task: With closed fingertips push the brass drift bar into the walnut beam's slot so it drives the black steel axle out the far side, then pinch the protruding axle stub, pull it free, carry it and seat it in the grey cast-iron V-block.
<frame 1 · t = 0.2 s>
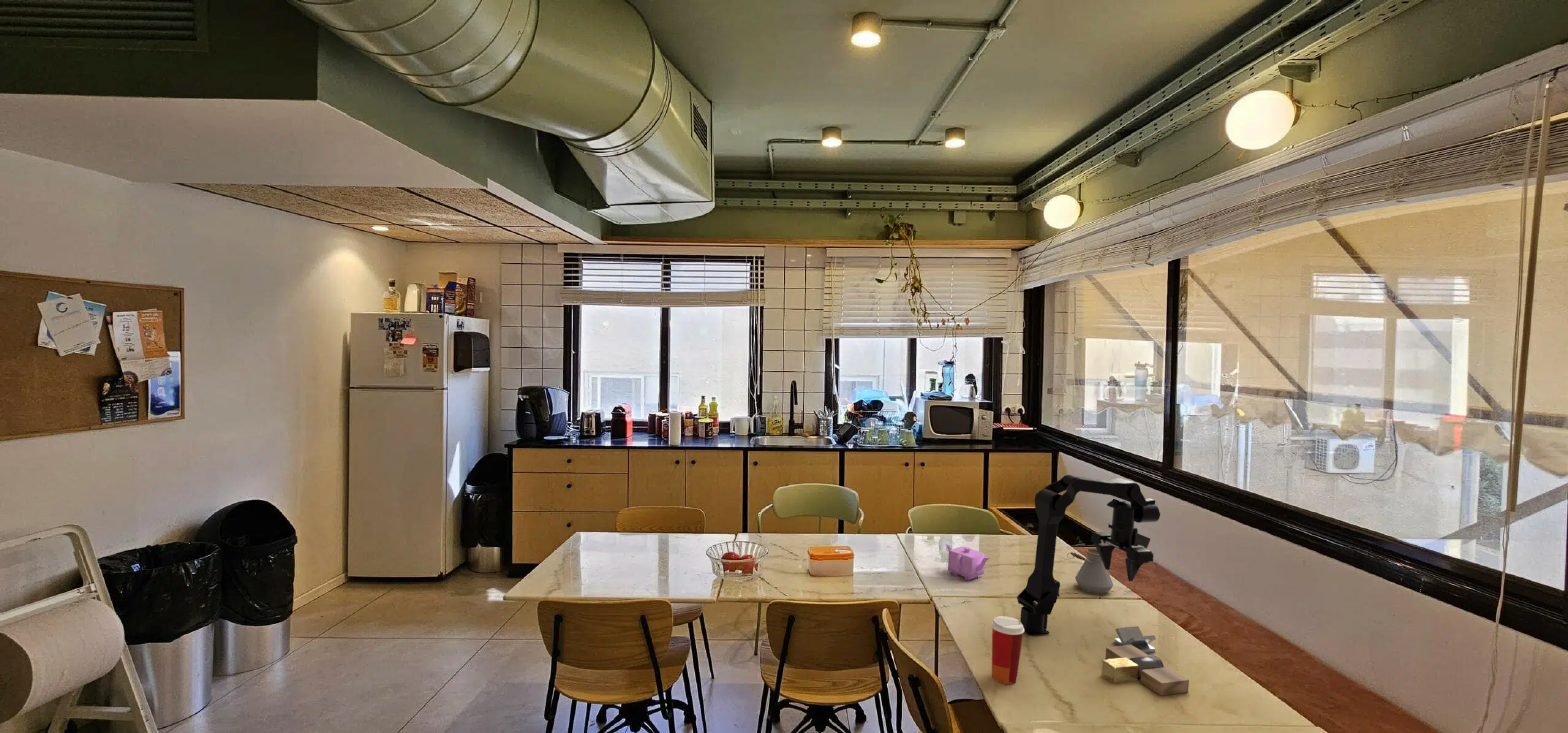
hand: (1118, 575, 197), 15 cm above the table, tool pointing down, fingers open, 9 cm apart
beam: (1144, 674, 168), on the table
coffee pot: (1085, 593, 222), on the table
drift: (1119, 678, 166), on the table
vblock: (1134, 647, 183), on the table
axle: (1144, 675, 168), on the table
paper cup: (1003, 679, 163), on the table
teapot: (966, 575, 232), on the table
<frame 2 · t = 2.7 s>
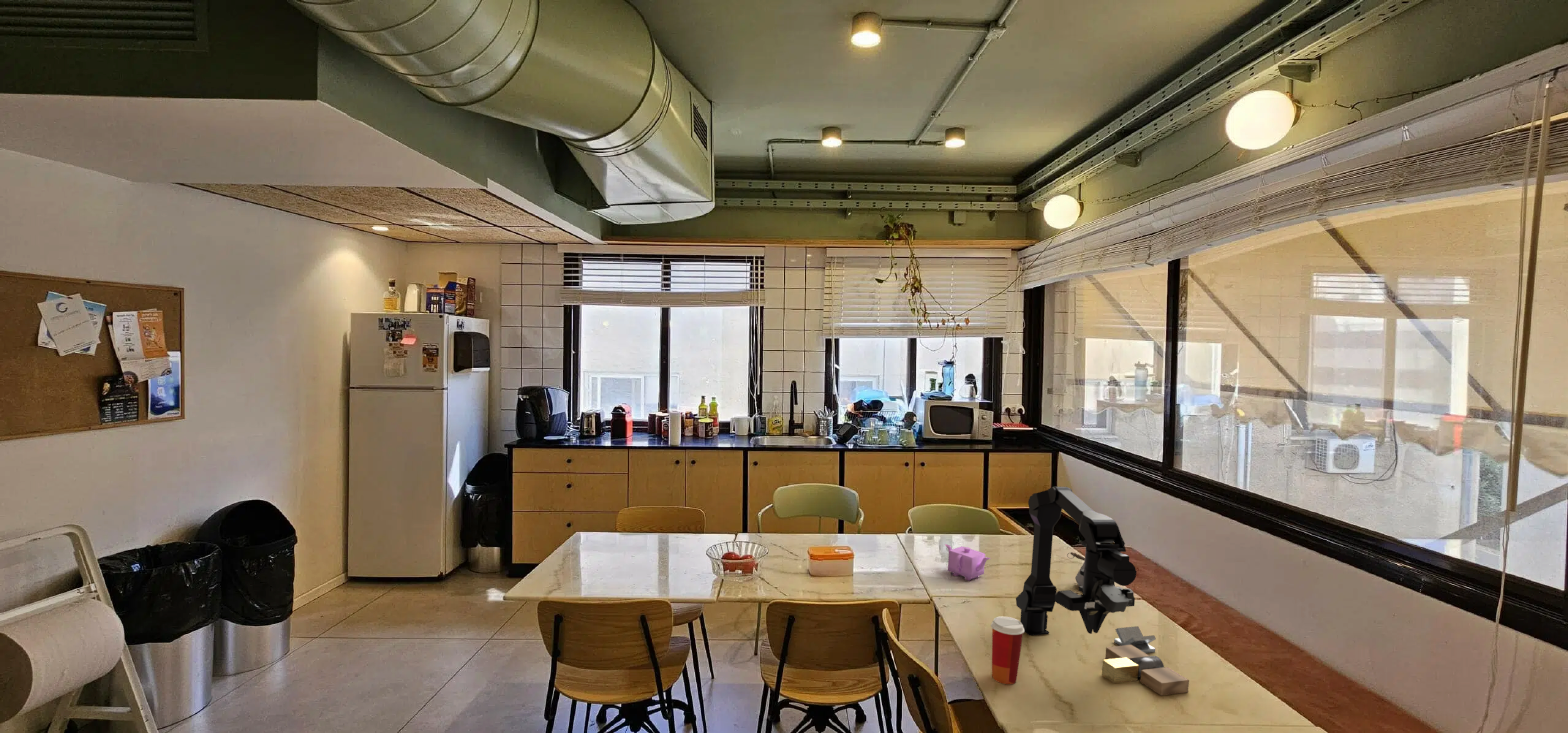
hand: (1092, 632, 163), 12 cm above the table, tool pointing down, fingers closed
nothing on the table moved.
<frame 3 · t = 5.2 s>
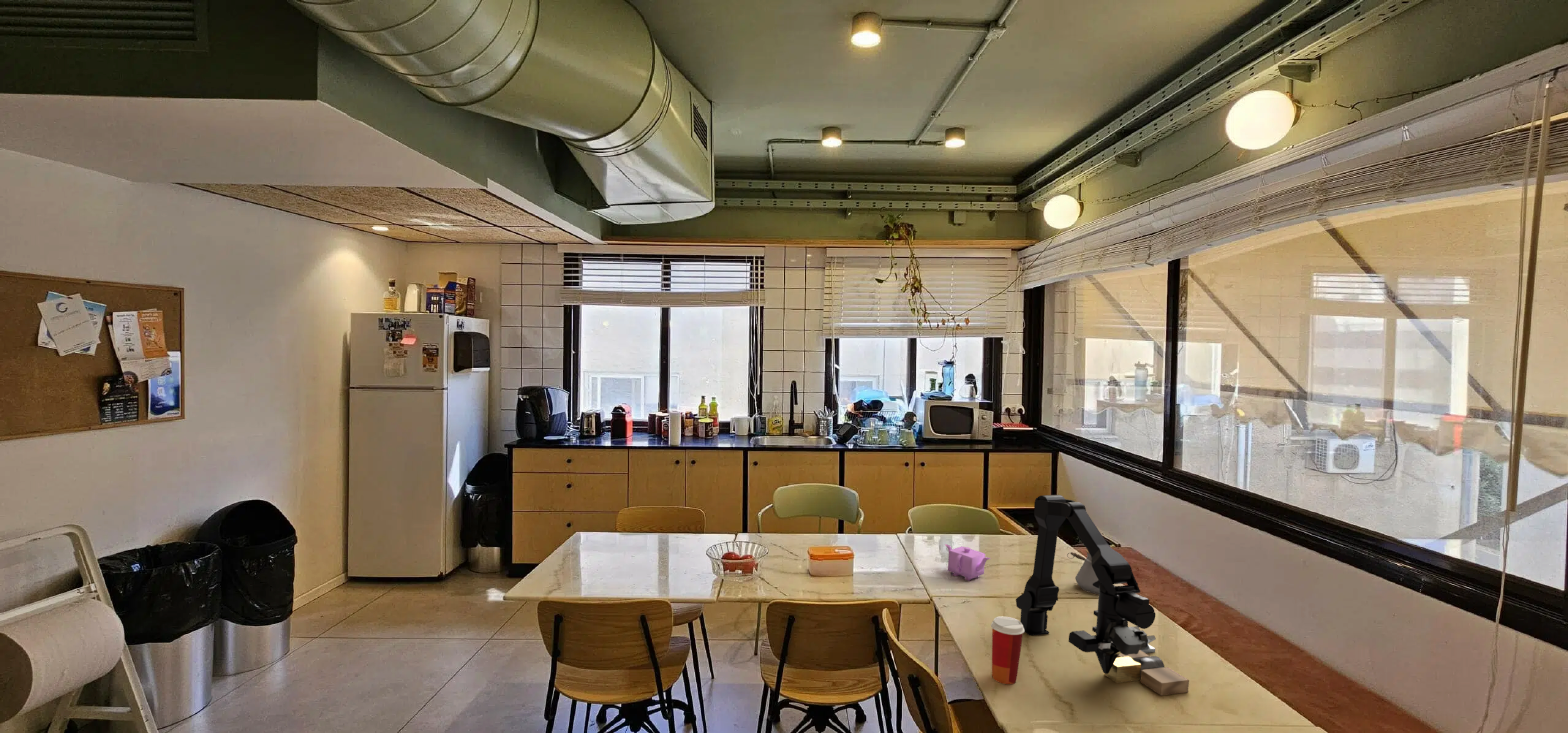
hand: (1105, 673, 165), 2 cm above the table, tool pointing down, fingers closed
drift: (1122, 677, 166), on the table, touching axle, gripper
axle: (1144, 675, 168), on the table, touching drift
everything else where it was.
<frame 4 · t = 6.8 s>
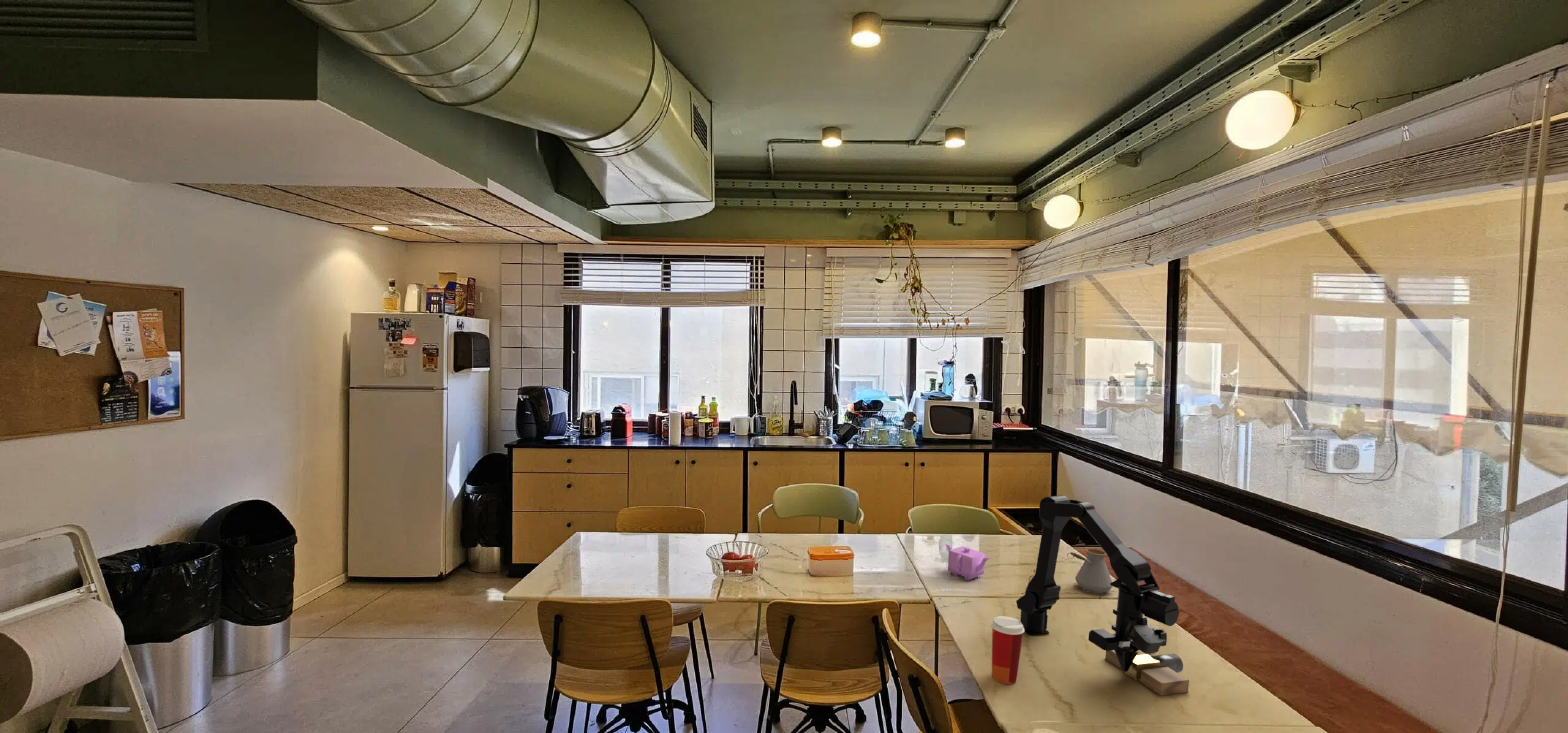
hand: (1124, 671, 166), 1 cm above the table, tool pointing down, fingers closed
drift: (1141, 674, 168), on the table, touching axle, gripper
axle: (1163, 672, 170), on the table, touching drift
everything else where it was.
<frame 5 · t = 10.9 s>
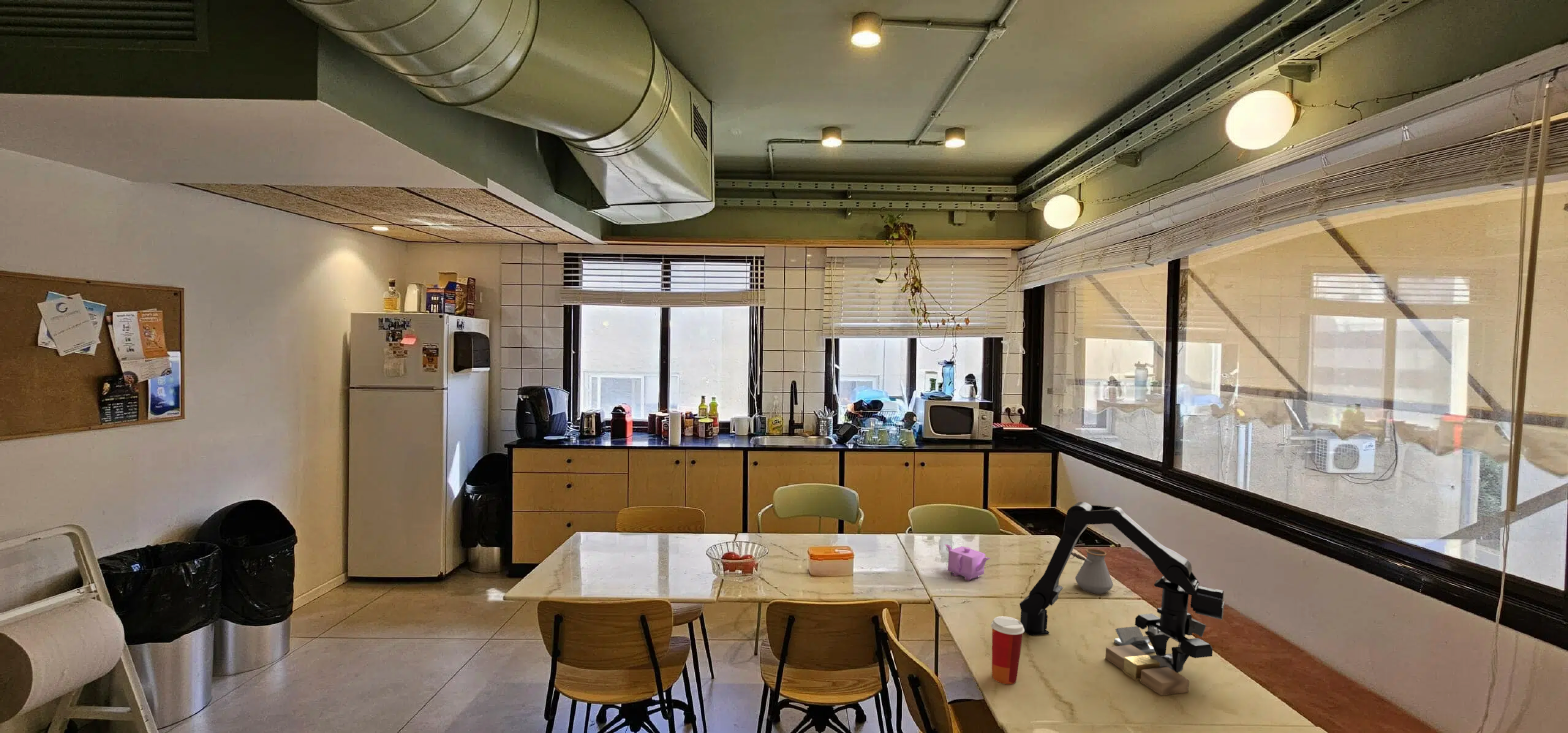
hand: (1169, 667, 170), 1 cm above the table, tool pointing down, fingers closed on axle, 4 cm apart
drift: (1140, 675, 168), on the table
axle: (1163, 672, 170), on the table, touching gripper
everything else where it was.
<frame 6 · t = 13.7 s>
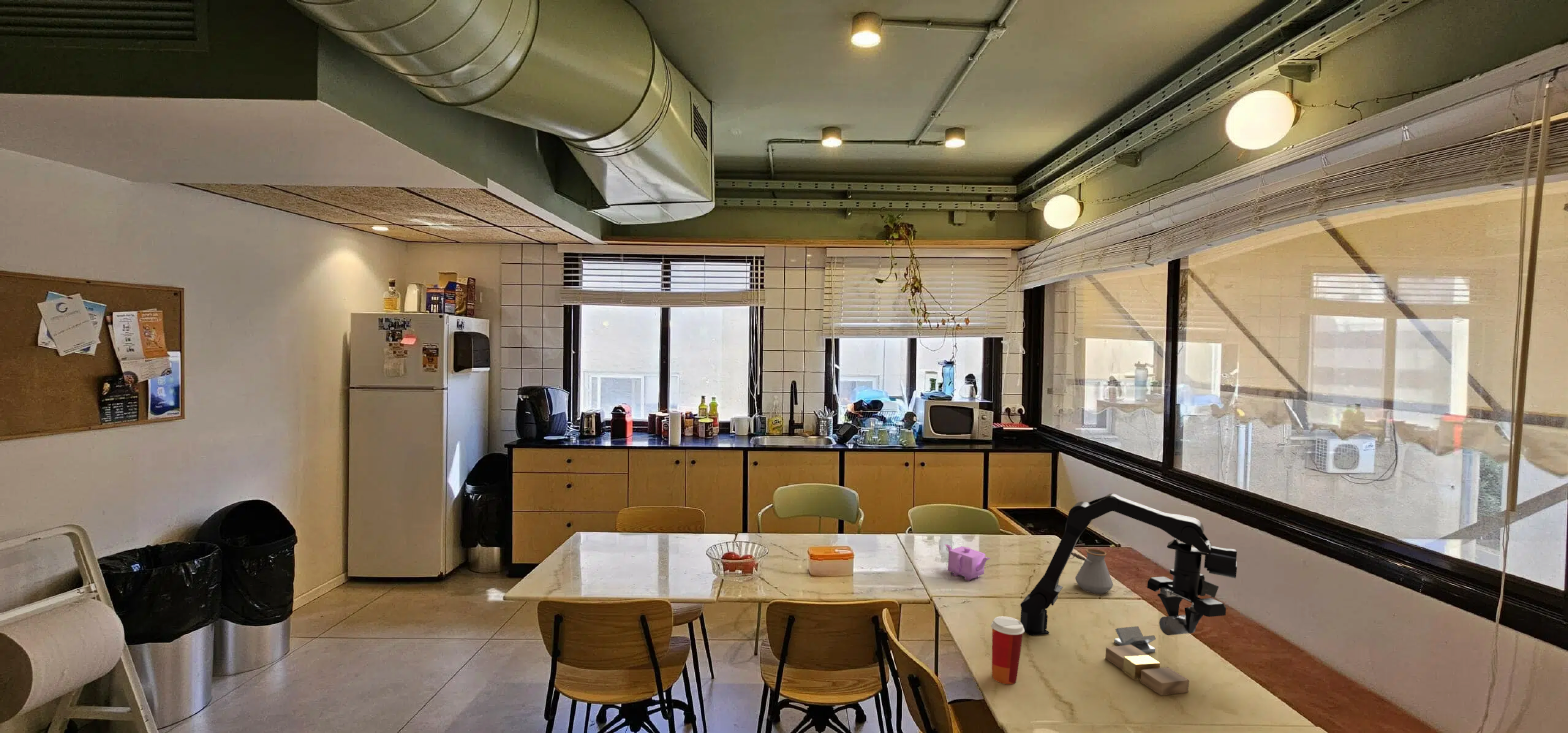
hand: (1182, 628, 170), 11 cm above the table, tool pointing down, fingers closed on axle, 4 cm apart
axle: (1176, 633, 170), point 10 cm above the table, touching gripper
everything else where it was.
when the fingers open (4 cm above the table, at t = 16.3 s): axle stays where it is, resting on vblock.
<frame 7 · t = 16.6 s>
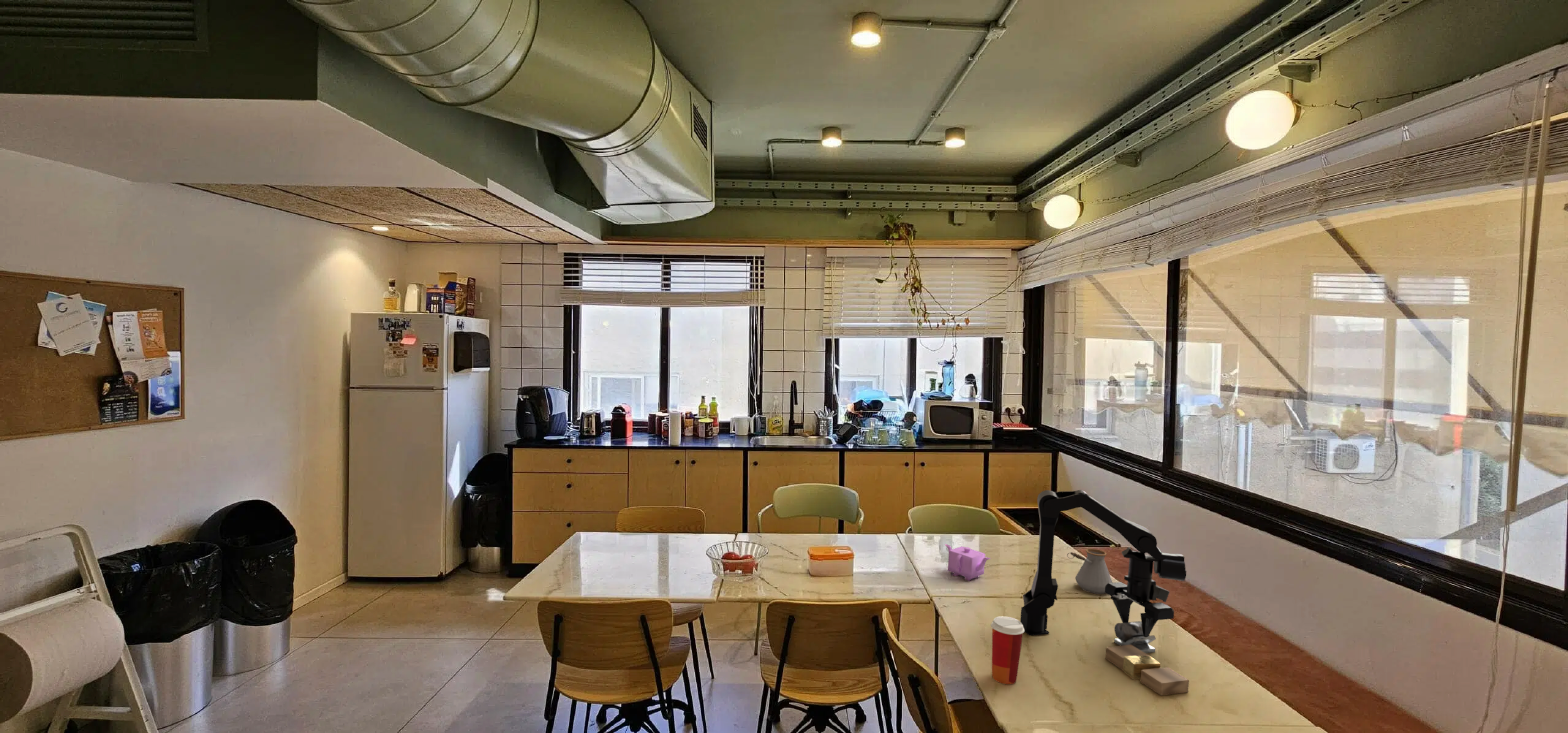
hand: (1135, 631, 183), 4 cm above the table, tool pointing down, fingers open, 7 cm apart
axle: (1130, 638, 183), point 2 cm above the table, touching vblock
everything else where it was.
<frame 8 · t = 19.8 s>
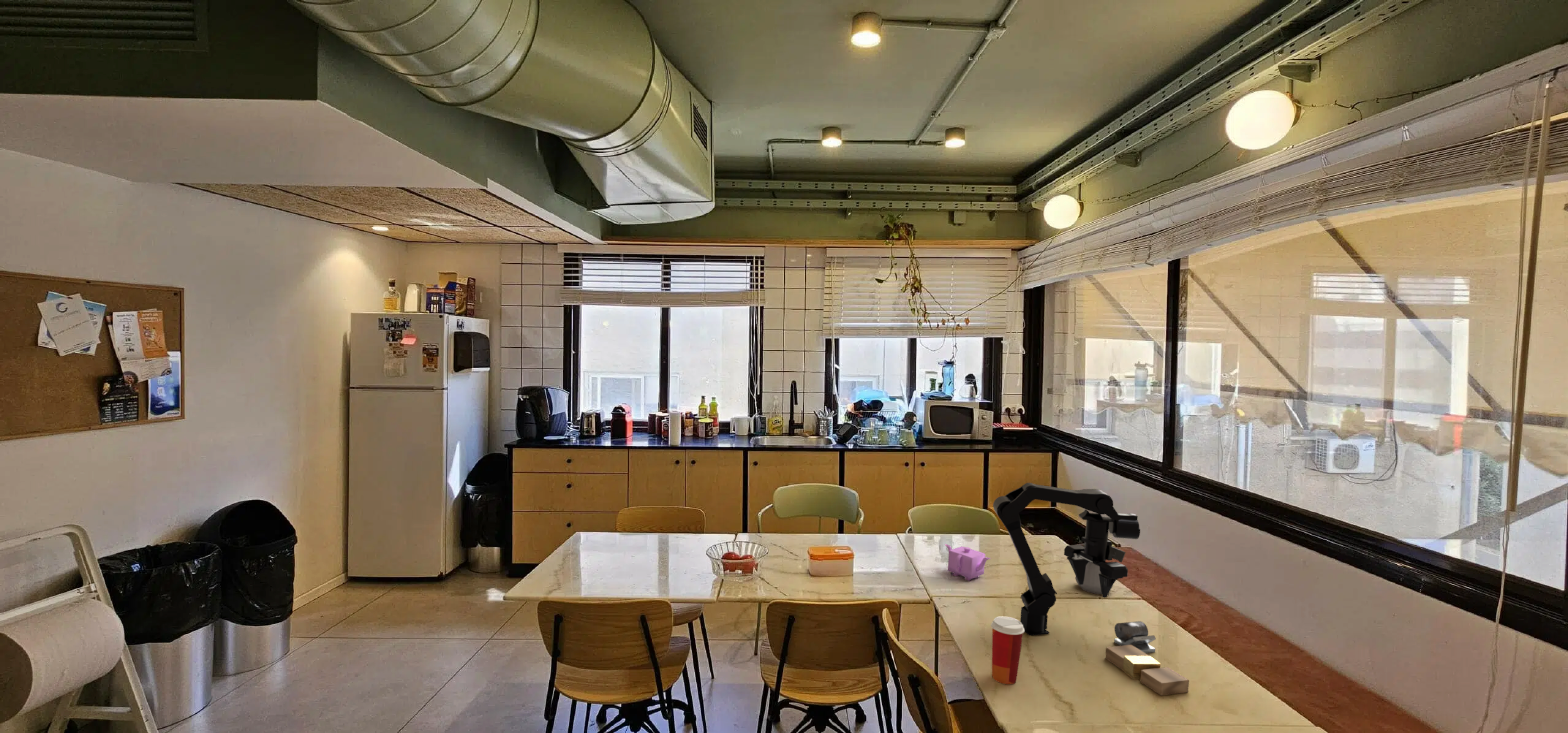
hand: (1092, 590, 188), 13 cm above the table, tool pointing down, fingers open, 9 cm apart
nothing on the table moved.
at the end: axle inside the target area on the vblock (1.5 cm from its centre), point 2.5 cm above the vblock's base; the gripper is holding nothing; axle moved 15.3 cm from its start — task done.
